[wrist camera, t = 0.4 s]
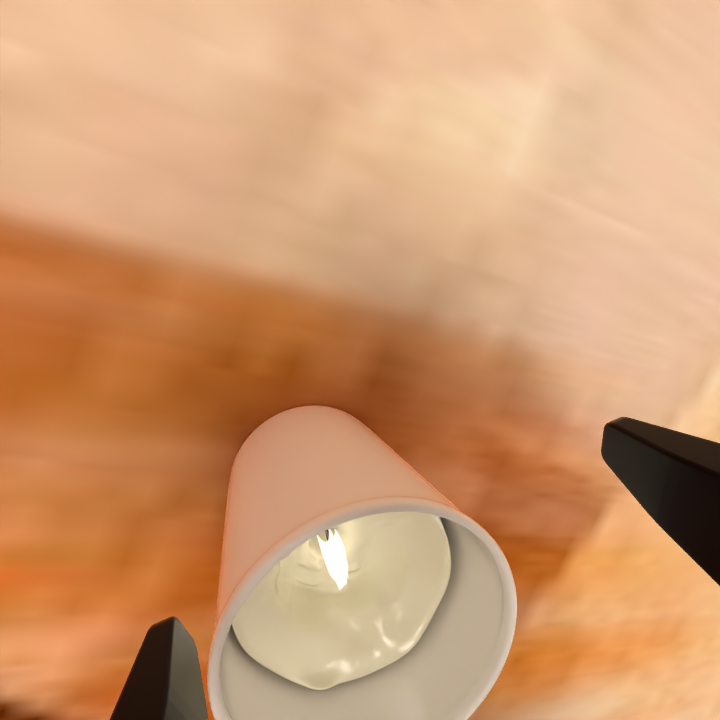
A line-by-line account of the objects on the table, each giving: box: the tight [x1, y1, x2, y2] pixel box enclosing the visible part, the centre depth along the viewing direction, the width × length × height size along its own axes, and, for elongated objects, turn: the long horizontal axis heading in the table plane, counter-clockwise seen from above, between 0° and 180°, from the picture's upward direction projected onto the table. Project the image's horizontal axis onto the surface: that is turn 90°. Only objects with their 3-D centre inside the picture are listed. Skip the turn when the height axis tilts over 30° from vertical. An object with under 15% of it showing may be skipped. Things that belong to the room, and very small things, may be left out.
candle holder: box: [207, 405, 517, 720], centre depth 20 cm, size 10×10×12 cm
